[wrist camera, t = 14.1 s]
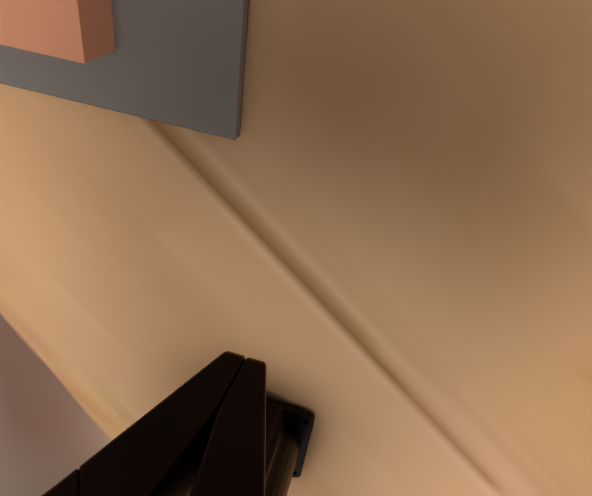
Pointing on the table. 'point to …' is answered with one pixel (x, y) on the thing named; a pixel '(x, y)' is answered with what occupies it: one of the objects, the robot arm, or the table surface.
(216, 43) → the mat
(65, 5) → the block
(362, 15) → the table surface
